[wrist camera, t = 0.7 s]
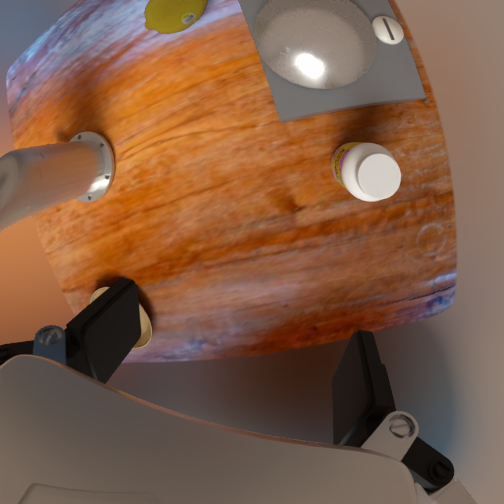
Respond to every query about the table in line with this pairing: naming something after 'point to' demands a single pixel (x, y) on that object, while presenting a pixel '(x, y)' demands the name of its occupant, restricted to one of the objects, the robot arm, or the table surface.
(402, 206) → the table surface
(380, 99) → the kitchen scale
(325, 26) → the scale pan
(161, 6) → the lemon
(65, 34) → the table surface
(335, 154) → the supplement bottle
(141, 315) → the plant saucer
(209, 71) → the table surface
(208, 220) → the table surface
